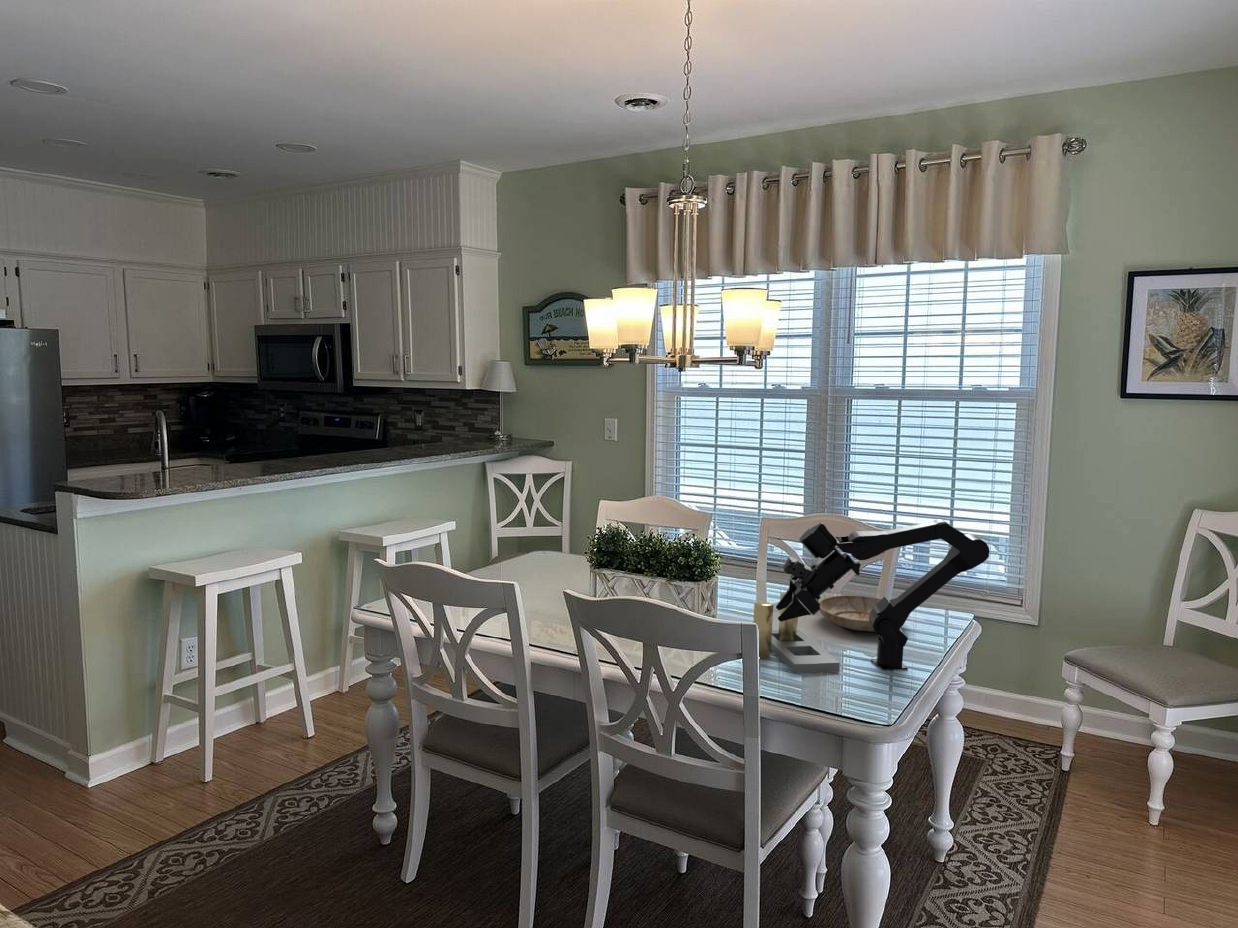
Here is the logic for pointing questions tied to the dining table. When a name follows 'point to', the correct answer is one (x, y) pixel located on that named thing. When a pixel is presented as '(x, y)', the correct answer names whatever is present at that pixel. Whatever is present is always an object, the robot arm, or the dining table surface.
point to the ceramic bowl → (849, 611)
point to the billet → (787, 628)
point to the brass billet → (764, 627)
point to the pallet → (803, 645)
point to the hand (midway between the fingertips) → (777, 614)
